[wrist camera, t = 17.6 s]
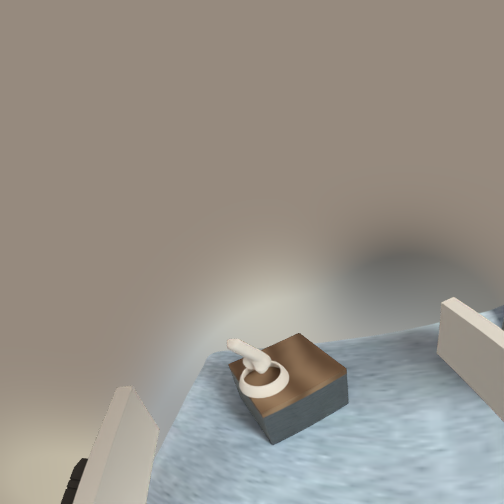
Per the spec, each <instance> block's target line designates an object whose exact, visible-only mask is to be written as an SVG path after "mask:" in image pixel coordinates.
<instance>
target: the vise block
mask: <svg viewBox="0 0 504 504" xmlns="http://www.w3.org/2000/svg"><path fill="white" fill-rule="evenodd" d="M261 351H262V352H264V353H265V354H267V355H268V356H269V357H270V358H271V361H275V362H278V363H279V364H281V365H282V366H283V367H284V368H285V369H286V370H287V372H288V374H289V381H288V384H287V385H286V387H285V388H284V389H283V390H281V391H280V392H279V393H277V394H275V395H273V396H270V397H266V398H252V397H248V396H246V395H245V394H243V393H242V392H241V390H240V388H239V382H240V377H241V374H242V372H243V371H244V370H245V369H246V368H247V367H245V365H244V364H243V358H242V359H240V360H237V361H235V362H232V363H230V364H228V365H229V367H230V370H231V373H232V376H233V378H234V381H235V384H236V386H237V389H238V392H239V394H240V397H241V398H242V400H243V401H244V403H245V404H246V406H247V408H248V409H249V411H250V412H251V414H252V415H253V417H254V418H255V420H256V421H257V423H258V424H259V426H260V427H261V429H262V430H263V432H264V433H265V435H266V436H267V438H268V439H269V441H270V442H271V443H272V445H274V444H276V443H278V442H280V441H282V440H284V439H286V438H288V437H290V436H292V435H294V434H296V433H298V432H300V431H302V430H304V429H306V428H307V427H309V426H311V425H313V424H315V423H316V422H318V421H320V420H322V419H323V418H325V417H327V416H329V415H330V414H332V413H334V412H335V411H337V410H339V409H340V408H342V407H343V406H345V405H347V404H348V403H349V402H348V385H347V370H346V368H345V367H344V366H342V365H341V364H340V363H338V362H337V361H336V360H334V359H333V358H332V357H330V356H329V355H328V354H326V353H325V352H324V351H322V350H321V349H320V348H318V347H317V346H316V345H314V344H313V343H312V342H310V341H309V340H308V339H307V338H305V337H304V336H303V335H301V334H300V333H298V334H295V335H294V336H291V337H289V338H287V339H285V340H283V341H280V342H278V343H276V344H274V345H272V346H269V347H267V348H265V349H263V350H261ZM280 372H281V370H280V368H277V367H272V366H271V367H269V368H268V369H267V371H266V372H265V373H263V374H260V373H258V372H257V371H256V370H253V371H251V372H250V373H249V374H247V375H246V376H245V378H244V381H245V382H246V383H247V384H249V385H251V386H264V385H267V384H270V383H272V382H273V381H275V380H276V379H277V378H278V377H279V375H280Z"/></svg>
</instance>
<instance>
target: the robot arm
mask: <svg viewBox="0 0 504 504" xmlns="http://www.w3.org/2000/svg"><path fill="white" fill-rule="evenodd" d="M437 354H438V355H439V356H440V357H441V358H442V359H443V360H444V361H445V362H446V363H447V364H448V365H449V366H450V367H451V368H452V369H453V370H454V371H455V372H456V373H457V374H458V375H459V376H460V377H461V378H462V379H463V380H464V381H465V382H466V383H467V384H468V385H469V386H470V387H471V388H472V389H473V390H474V391H475V392H476V393H477V394H478V395H479V396H480V397H481V398H482V399H483V400H484V401H485V402H486V403H487V405H488V406H489V407H490V408H491V409H492V410H493V411H494V412H495V413H496V414H497V415H498V416H499V417H500V418H501V420H502V421H503V422H504V318H503V323H502V329H500V328H499V327H498V326H496V325H495V324H493V323H492V322H490V321H489V320H488V319H486V318H485V317H483V316H482V315H480V314H479V313H477V312H476V311H474V310H473V309H471V308H470V307H468V306H467V305H465V304H464V303H462V302H461V301H459V300H458V299H456V298H454V297H453V298H451V299H448V300H446V301H444V302H442V303H441V317H440V327H439V337H438V346H437ZM159 430H160V429H159V428H158V426H157V424H156V423H155V421H154V420H153V418H152V417H151V415H150V414H149V412H148V410H147V409H146V407H145V405H144V404H143V402H142V401H141V399H140V397H139V396H138V394H137V392H136V390H135V389H134V387H133V386H125V387H117V389H116V391H115V393H114V396H113V398H112V401H111V403H110V406H109V408H108V410H107V413H106V415H105V417H104V420H103V422H102V425H101V427H100V430H99V432H98V435H97V437H96V440H95V442H94V445H93V448H92V450H91V453H90V456H89V458H88V459H86V458H82V459H81V460H80V461H79V462H78V463H77V465H76V466H75V467H74V469H73V472H72V474H71V477H70V479H71V480H69V482H68V485H67V489H66V491H65V493H64V496H63V499H62V502H61V504H146V501H147V494H148V489H149V483H150V477H151V471H152V466H153V461H154V455H155V450H156V445H157V439H158V435H159Z"/></svg>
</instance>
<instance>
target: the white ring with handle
mask: <svg viewBox="0 0 504 504" xmlns="http://www.w3.org/2000/svg"><path fill="white" fill-rule="evenodd" d="M227 348H228V349H229V350H231V351H233V352H235V353H237V354H239V355H241V356H243V357H244V358H243V364H244V365H245V367H247V368H246V369H245V370H244V371H243V372H242V374H241V377H240V382H239V388H240V390H241V392H242V393H243V394H245V395H246V396H248V397H252V398H266V397H270V396H273V395H275V394H277V393H279V392H280V391H281V390H283V389H284V388H285V387H286V385H287V384H288V381H289V374H288V372H287V370H286V369H285V368H284V367H283V366H282V365H281V364H279V363H278V362H275V361H271V358H270V357H269V356H268V355H267V354H265V353H264V352H262V351H261V350H259V349H257V348H255V347H253V346H251V345H249V344H248V343H245V342H244V341H242V340H240V339H228V340H227ZM271 366H272V367H277V368H280V370H281V372H280V375H279V377H278V378H277V379H276V380H275V381H273V382H272V383H270V384H267V385H264V386H251V385H249V384H247V383H246V382H245V381H244V378H245V376H246V375H247V374H249V373H250V372H251V371H253V370H256V371H257V372H258V373H260V374H263V373H265V372H266V371H267V369H268V368H269V367H271Z"/></svg>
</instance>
